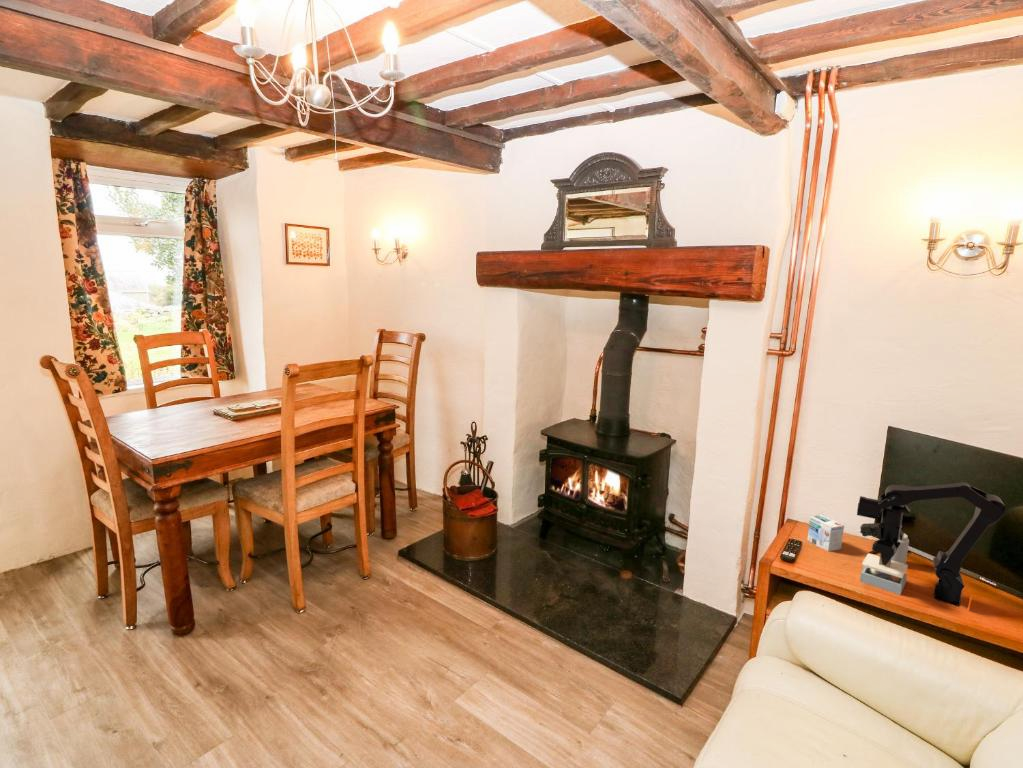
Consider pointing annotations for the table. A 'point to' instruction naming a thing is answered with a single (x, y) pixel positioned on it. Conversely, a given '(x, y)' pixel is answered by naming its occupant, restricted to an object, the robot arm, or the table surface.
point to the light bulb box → (825, 533)
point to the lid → (889, 568)
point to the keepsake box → (882, 581)
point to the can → (902, 550)
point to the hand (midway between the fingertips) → (885, 562)
